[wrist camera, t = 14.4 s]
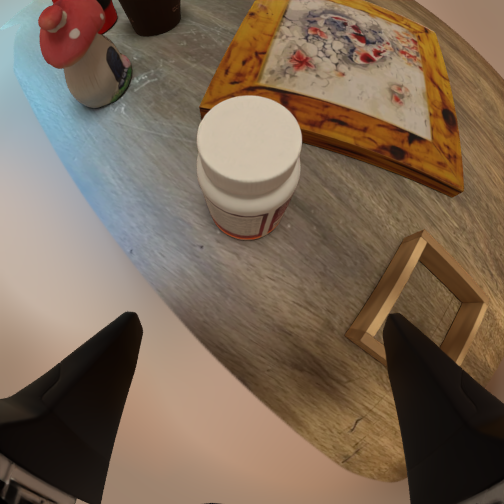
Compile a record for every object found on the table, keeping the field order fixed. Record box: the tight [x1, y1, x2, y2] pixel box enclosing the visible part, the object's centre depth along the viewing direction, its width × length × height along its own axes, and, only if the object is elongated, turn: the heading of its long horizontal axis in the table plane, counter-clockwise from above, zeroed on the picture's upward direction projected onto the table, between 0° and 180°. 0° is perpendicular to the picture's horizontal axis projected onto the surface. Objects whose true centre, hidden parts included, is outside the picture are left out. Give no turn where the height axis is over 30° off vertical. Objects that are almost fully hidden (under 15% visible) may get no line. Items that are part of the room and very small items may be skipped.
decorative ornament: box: [38, 0, 132, 108], centre depth 19 cm, size 9×7×15 cm
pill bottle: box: [197, 96, 302, 240], centre depth 19 cm, size 6×6×11 cm
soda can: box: [52, 0, 117, 34], centre depth 22 cm, size 8×8×12 cm
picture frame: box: [199, 0, 464, 197], centre depth 27 cm, size 27×2×30 cm
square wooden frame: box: [345, 229, 490, 367], centre depth 21 cm, size 11×11×4 cm
